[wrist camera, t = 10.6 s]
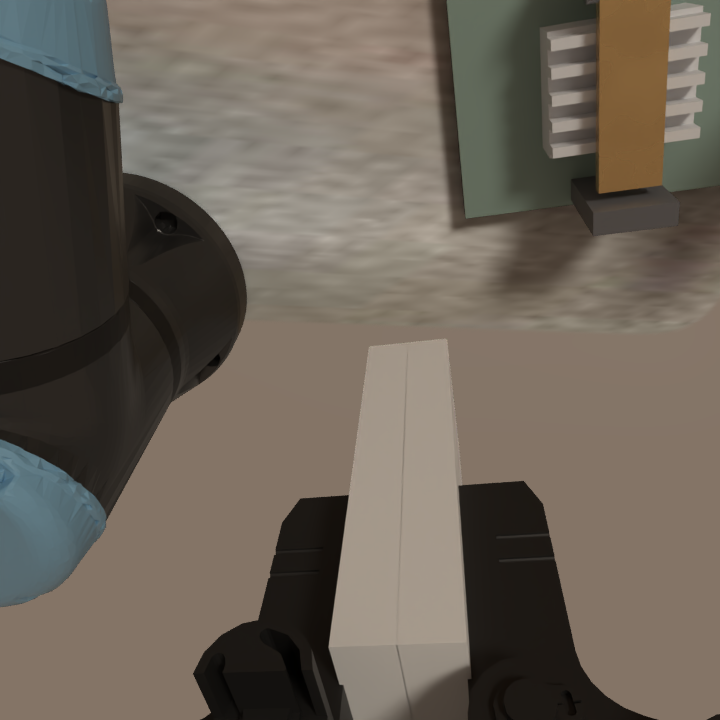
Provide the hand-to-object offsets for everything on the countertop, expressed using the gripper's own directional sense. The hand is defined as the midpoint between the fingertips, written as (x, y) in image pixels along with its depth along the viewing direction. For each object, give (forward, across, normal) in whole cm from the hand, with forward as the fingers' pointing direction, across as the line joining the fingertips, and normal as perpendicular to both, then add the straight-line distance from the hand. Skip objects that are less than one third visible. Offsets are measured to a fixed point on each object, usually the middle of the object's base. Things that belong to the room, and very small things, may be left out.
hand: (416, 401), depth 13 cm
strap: (+24, +10, +1) cm, 26 cm away
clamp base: (+28, +10, +1) cm, 30 cm away
